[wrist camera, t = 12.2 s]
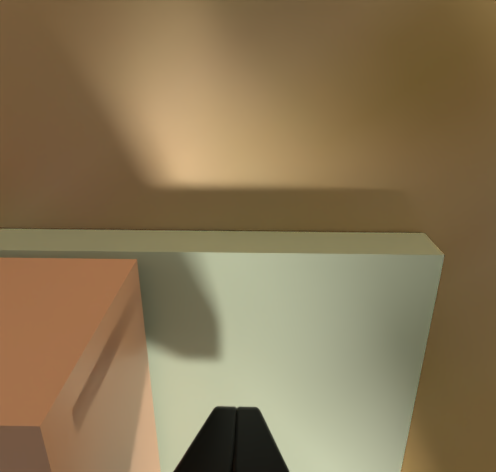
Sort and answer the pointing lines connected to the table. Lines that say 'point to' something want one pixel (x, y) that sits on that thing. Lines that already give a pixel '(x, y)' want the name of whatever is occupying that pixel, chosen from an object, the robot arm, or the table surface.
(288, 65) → the table surface
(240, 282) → the board
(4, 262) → the cover
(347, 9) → the table surface
